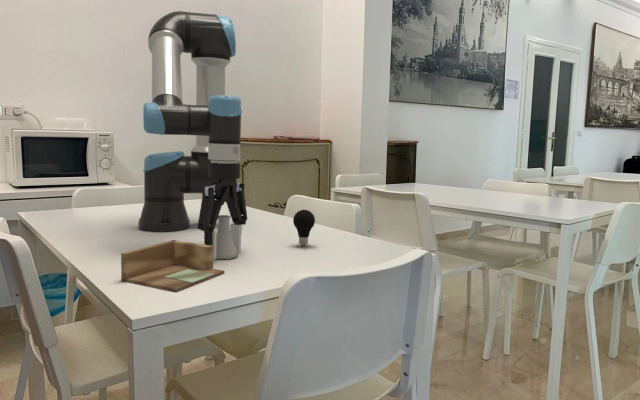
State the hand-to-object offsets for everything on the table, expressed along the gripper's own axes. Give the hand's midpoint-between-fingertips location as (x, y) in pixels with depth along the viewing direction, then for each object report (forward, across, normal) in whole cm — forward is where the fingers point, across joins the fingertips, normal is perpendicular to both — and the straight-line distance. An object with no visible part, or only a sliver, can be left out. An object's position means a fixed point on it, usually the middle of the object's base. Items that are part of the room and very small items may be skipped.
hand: (223, 254), depth 122 cm
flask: (+1, 0, 0) cm, 1 cm away
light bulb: (+1, +21, -11) cm, 24 cm away
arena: (+1, -20, -2) cm, 20 cm away
